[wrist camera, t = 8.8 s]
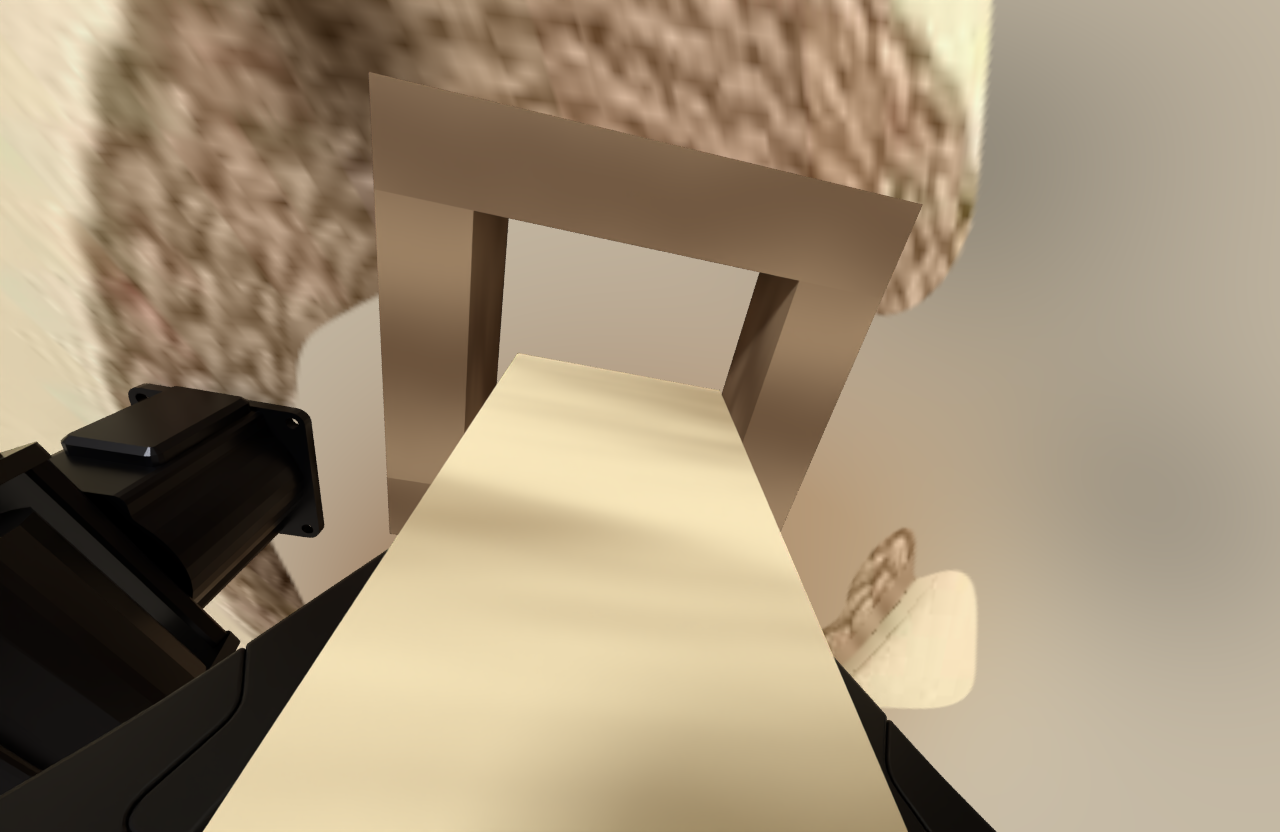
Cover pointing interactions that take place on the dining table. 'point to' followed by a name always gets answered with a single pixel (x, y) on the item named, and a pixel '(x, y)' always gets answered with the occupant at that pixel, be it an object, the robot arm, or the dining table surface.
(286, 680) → the robot arm
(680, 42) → the dining table surface
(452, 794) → the birch peg
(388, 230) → the socket block
